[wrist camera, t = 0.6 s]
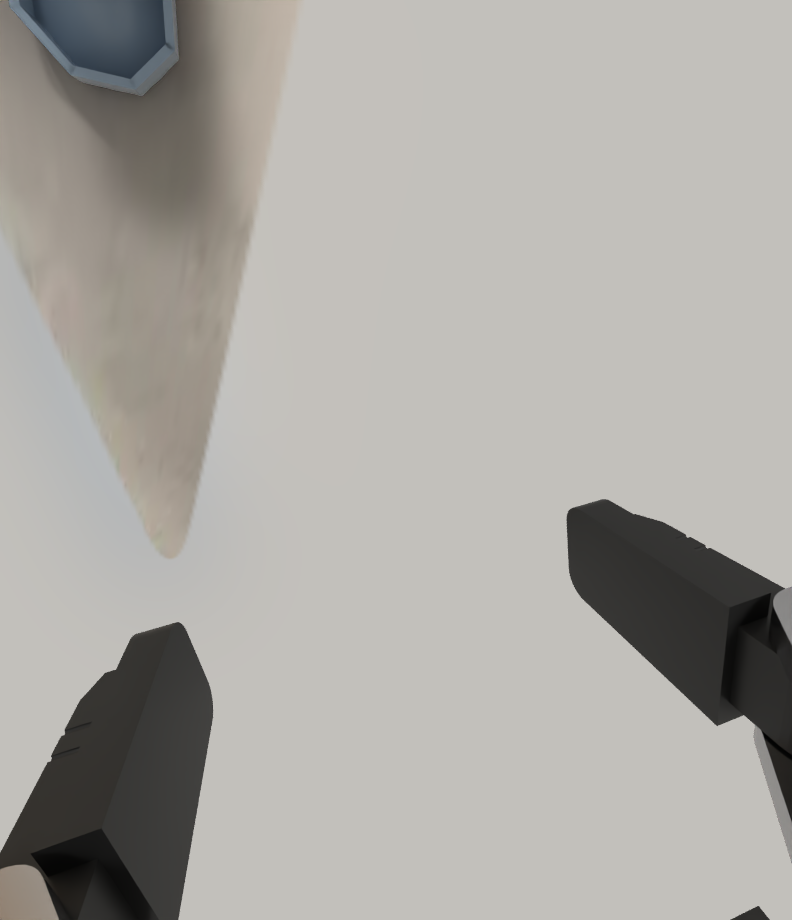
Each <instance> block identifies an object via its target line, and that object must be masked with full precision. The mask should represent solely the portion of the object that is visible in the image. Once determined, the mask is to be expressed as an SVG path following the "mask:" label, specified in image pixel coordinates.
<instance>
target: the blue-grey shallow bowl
mask: <svg viewBox="0 0 792 920" xmlns="http://www.w3.org/2000/svg"><path fill="white" fill-rule="evenodd" d="M8 1H9V6H10V8H11V9H12V10H13V11H14V12H15V14H16V15H17V16H18V17H19V18H20V19H21V20H22V21H23V23H24V24H25V25H26V26H27V27H28V28H29V29H30V30H31V31H32V33H33V34H34V35H35V36H36V37H37V38H38V39H39V40H40V42H41V43H42V44H43V45H44V46H45V47H46V48H47V49H48V51H49V52H50V53H51V54H52V55H53V56H54V57H55V58H56V60H57V61H58V62H59V63H60V64H61V65H62V66H63V67H64V68H65V70H66V71H67V72H68V73H69V74H70V75H71V76H73V77H74V78H76V79H78V80H79V81H81V82H82V83H86V84H90V85H95V86H99V87H104V88H107V89H111V90H114V91H121V92H126V93H130V94H135V95H139V96H143V95H144V94H145V93H146V92H147V91H148V90H149V89H150V88H151V87H152V86H153V85H155V84H156V83H157V82H158V81H160V80H161V79H162V78H163V76H164V75H165V74H166V73H167V71H168V70H169V69H170V68H171V67H172V66H173V65H174V64H175V63H176V62H177V61H178V60H179V50H178V27H177V18H176V1H175V0H8Z"/></svg>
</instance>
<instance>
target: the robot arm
mask: <svg viewBox="0 0 792 920" xmlns="http://www.w3.org/2000/svg"><path fill="white" fill-rule="evenodd" d="M567 537H568V559H569V573H570V576H571V580H572V583H573V585H574V587H575V589H576V591H577V592H578V594H579V595H580V596H581V598H582V599H583V600H584V601H585V602H586V603H587V604H589V605H590V606H591V607H592V608H593V609H594V610H595V611H596V612H597V613H598V614H599V615H600V616H601V617H602V618H603V619H604V620H605V621H607V622H608V623H609V624H610V625H611V626H612V627H613V628H614V629H615V630H616V631H617V632H618V633H619V634H620V635H621V636H622V637H623V638H625V639H626V640H627V641H628V642H629V643H630V644H631V645H632V646H633V647H634V648H635V649H636V650H637V651H638V652H639V653H641V655H642V656H644V657H645V658H646V659H647V660H648V661H649V662H650V663H651V664H652V665H653V666H654V667H655V668H656V669H657V670H658V671H659V672H661V673H662V674H663V675H664V676H665V677H666V678H667V679H668V680H669V681H670V682H671V683H672V684H673V685H674V686H675V687H676V688H677V689H679V690H680V691H681V692H682V693H683V694H684V695H685V696H686V697H687V698H688V699H689V700H690V701H691V702H693V704H695V706H696V707H698V708H699V709H700V710H701V711H702V712H703V713H704V714H705V715H706V716H707V717H708V718H709V719H710V720H711V721H712V722H713V723H714V724H716V725H717V726H718V725H721V724H723V723H725V722H728V721H730V720H733V719H735V718H738V717H740V716H743V715H745V716H746V717H747V718H748V719H749V720H750V721H752V722H753V723H754V724H755V729H754V741H755V745H756V748H757V752H758V755H759V758H760V761H761V765H762V768H763V771H764V775H765V778H766V781H767V784H768V788H769V791H770V794H771V797H772V800H773V804H774V807H775V810H776V813H777V817H778V820H779V823H780V826H781V830H782V833H783V836H784V839H785V843H786V846H787V849H788V852H789V856H790V859H791V862H792V587H790V588H787V589H785V588H783V587H781V586H779V585H778V584H775V583H774V582H772V581H770V580H768V579H766V578H765V577H763V576H761V575H759V574H757V573H755V572H754V571H752V570H750V569H748V568H746V567H744V566H743V565H741V564H739V563H737V562H735V561H733V560H731V559H729V558H728V557H726V556H724V555H722V554H721V553H719V552H717V551H715V550H713V549H711V548H708V549H707V548H706V547H705V545H704V544H702V543H700V542H698V541H697V540H695V539H693V538H691V537H689V538H687V537H686V535H685V534H684V533H682V532H680V531H678V530H676V529H675V528H673V527H671V526H669V525H667V524H665V523H663V522H660V521H657V520H654V519H650V518H646V517H643V516H640V515H636V514H632V513H630V512H628V511H627V510H625V509H623V508H621V507H620V506H618V505H616V504H614V503H613V502H611V501H609V500H606V499H602V500H599V501H595V502H592V503H588V504H585V505H581V506H578V507H575V508H572V509H570V510H569V512H568V514H567ZM212 719H213V701H212V695H211V690H210V686H209V683H208V681H207V678H206V676H205V674H204V671H203V669H202V666H201V664H200V662H199V659H198V657H197V655H196V653H195V650H194V648H193V645H192V643H191V640H190V638H189V636H188V634H187V631H186V629H185V628H184V626H183V625H182V624H181V623H179V622H177V623H173V624H170V625H166V626H163V627H159V628H156V629H152V630H149V631H145V632H142V633H138V634H135V635H134V636H133V637H132V638H131V639H130V641H129V643H128V645H127V648H126V650H125V652H124V654H123V656H122V658H121V660H120V663H119V665H118V667H117V669H116V670H113V671H110V672H107V673H105V674H104V675H103V676H102V677H101V678H100V679H99V680H98V681H97V683H96V684H95V685H94V686H93V687H92V688H91V689H90V690H89V692H87V694H86V695H85V696H84V697H83V698H82V699H81V700H80V702H79V704H78V705H77V707H76V709H75V711H74V713H73V715H72V717H71V719H70V721H69V723H68V724H67V727H66V728H65V735H64V736H61V738H60V740H59V742H58V744H57V745H56V747H55V749H54V751H53V753H52V755H51V757H52V760H51V762H48V763H47V765H46V767H45V768H44V770H43V772H42V774H41V776H40V778H39V780H38V782H37V784H36V786H35V787H34V789H33V791H32V793H31V795H30V797H29V799H28V801H27V803H26V805H25V807H24V809H23V811H22V812H21V814H20V816H19V818H18V820H17V822H16V824H15V826H14V828H13V830H12V831H11V833H10V835H9V837H8V839H7V841H6V843H5V845H4V847H3V849H2V851H1V852H0V920H178V917H179V912H180V906H181V900H182V894H183V889H184V883H185V877H186V871H187V865H188V859H189V854H190V848H191V842H192V836H193V830H194V825H195V818H196V813H197V807H198V801H199V795H200V790H201V784H202V778H203V772H204V766H205V760H206V755H207V748H208V743H209V737H210V730H211V726H212ZM731 920H769V918H768V917H767V916H766V915H765V914H764V912H763V911H762V910H761V909H760V907H759V906H757V907H755V908H753V909H751V910H749V911H747V912H745V913H743V914H741V915H739V916H737V917H735V918H733V919H731Z"/></svg>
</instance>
